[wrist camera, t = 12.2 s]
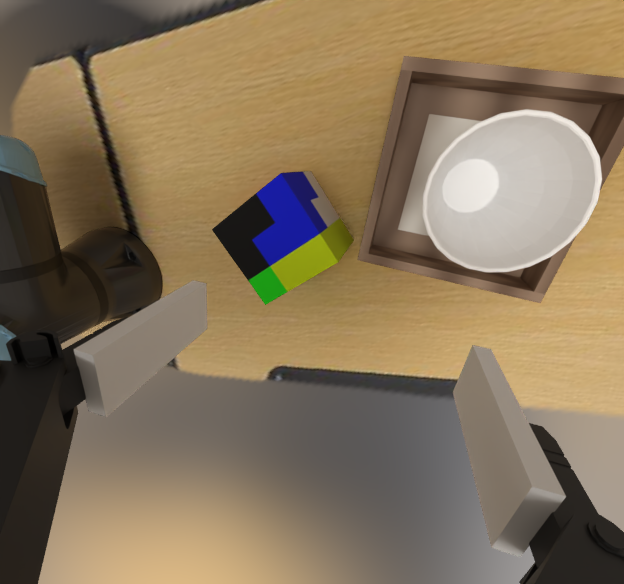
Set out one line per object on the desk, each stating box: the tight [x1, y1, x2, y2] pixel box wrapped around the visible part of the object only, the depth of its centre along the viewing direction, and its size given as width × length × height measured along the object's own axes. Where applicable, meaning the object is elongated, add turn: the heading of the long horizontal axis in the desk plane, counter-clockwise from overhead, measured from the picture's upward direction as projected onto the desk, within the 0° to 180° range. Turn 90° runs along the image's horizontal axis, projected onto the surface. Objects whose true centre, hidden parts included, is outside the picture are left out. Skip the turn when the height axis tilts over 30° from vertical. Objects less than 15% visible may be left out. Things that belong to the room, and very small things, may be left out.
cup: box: [423, 109, 602, 272], centre depth 26 cm, size 10×10×14 cm
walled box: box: [358, 56, 624, 303], centre depth 31 cm, size 19×19×5 cm
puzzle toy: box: [212, 171, 354, 305], centre depth 36 cm, size 10×10×10 cm
